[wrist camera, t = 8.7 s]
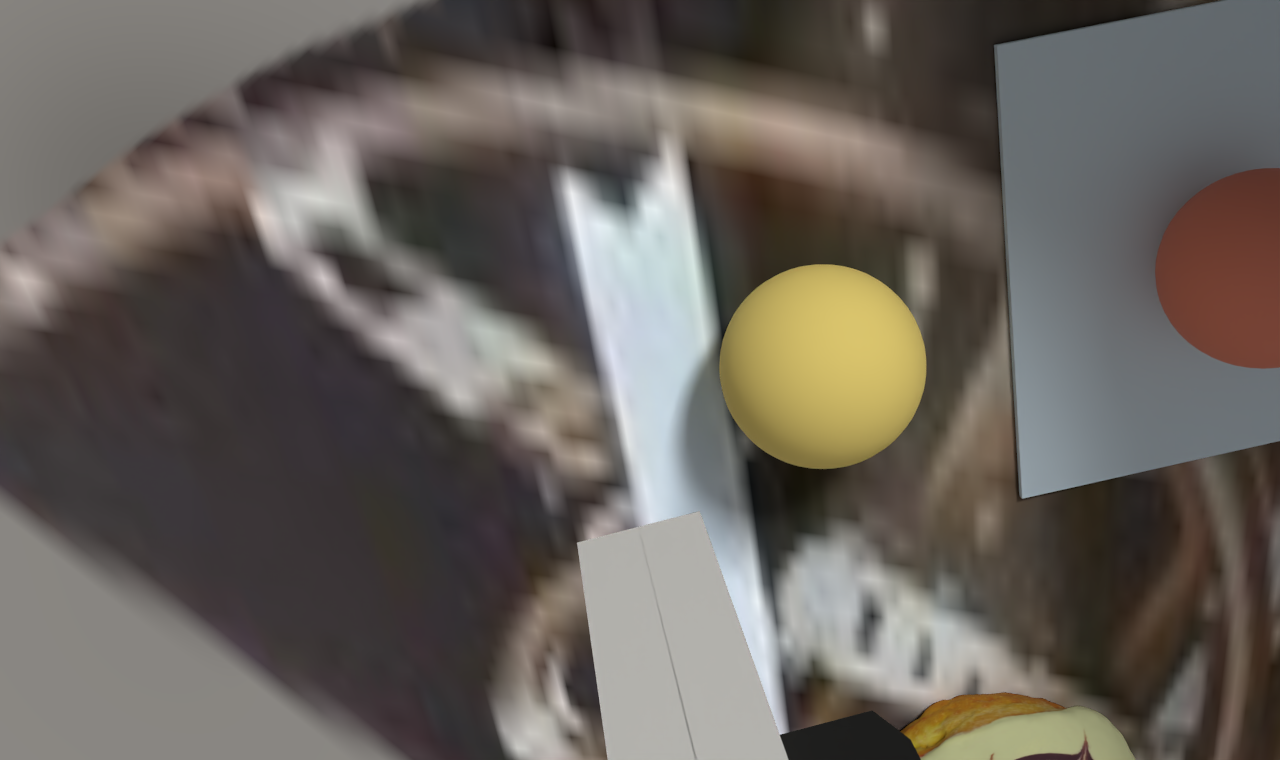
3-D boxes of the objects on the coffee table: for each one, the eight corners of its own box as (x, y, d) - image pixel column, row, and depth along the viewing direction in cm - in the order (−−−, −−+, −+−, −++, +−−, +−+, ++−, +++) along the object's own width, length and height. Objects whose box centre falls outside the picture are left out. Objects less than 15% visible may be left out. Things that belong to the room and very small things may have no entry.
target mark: (1471, -50, 33) (1476, -50, 33) (1431, 403, 38) (1436, 405, 38) (993, 45, 32) (996, 45, 32) (1019, 496, 37) (1022, 498, 37)
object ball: (1150, 207, 31) (1156, 154, 35) (1153, 400, 33) (1158, 326, 37) (1401, 192, 28) (1373, 138, 33) (1387, 402, 30) (1362, 323, 35)
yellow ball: (682, 311, 29) (732, 244, 34) (712, 506, 31) (755, 416, 36) (908, 300, 28) (927, 231, 32) (924, 507, 30) (940, 413, 34)
